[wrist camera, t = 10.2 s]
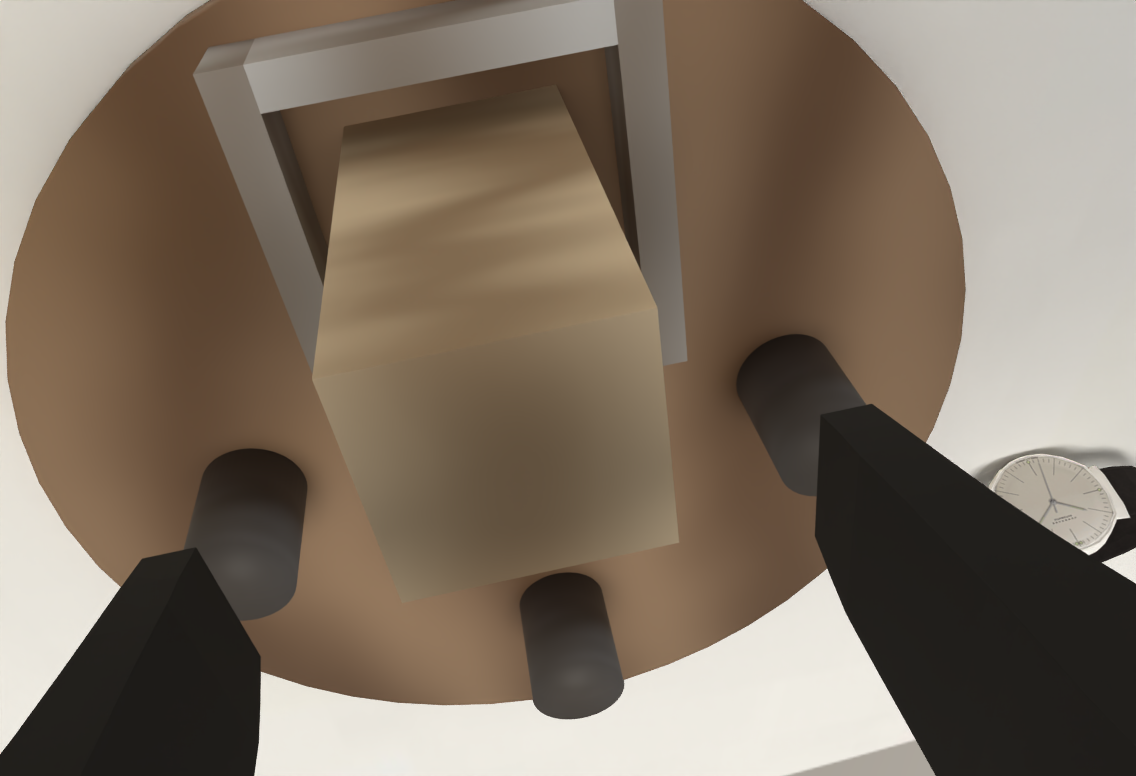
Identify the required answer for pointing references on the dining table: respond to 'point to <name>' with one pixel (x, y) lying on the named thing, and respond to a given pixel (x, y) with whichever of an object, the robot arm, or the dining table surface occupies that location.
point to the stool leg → (490, 349)
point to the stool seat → (295, 288)
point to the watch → (1074, 501)
